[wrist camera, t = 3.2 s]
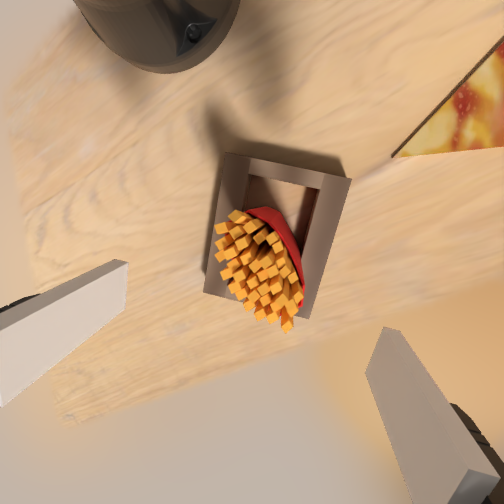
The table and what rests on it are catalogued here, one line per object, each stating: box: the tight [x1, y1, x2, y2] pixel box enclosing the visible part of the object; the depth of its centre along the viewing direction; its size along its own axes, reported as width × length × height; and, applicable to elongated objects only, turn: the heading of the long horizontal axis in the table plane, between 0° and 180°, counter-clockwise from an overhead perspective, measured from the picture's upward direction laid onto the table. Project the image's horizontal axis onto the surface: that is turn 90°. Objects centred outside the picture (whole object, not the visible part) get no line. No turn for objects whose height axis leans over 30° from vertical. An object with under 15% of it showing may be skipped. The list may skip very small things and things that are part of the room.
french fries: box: [214, 206, 305, 334], centre depth 24 cm, size 9×4×13 cm, turn 29°
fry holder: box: [203, 152, 352, 319], centre depth 29 cm, size 12×15×2 cm
